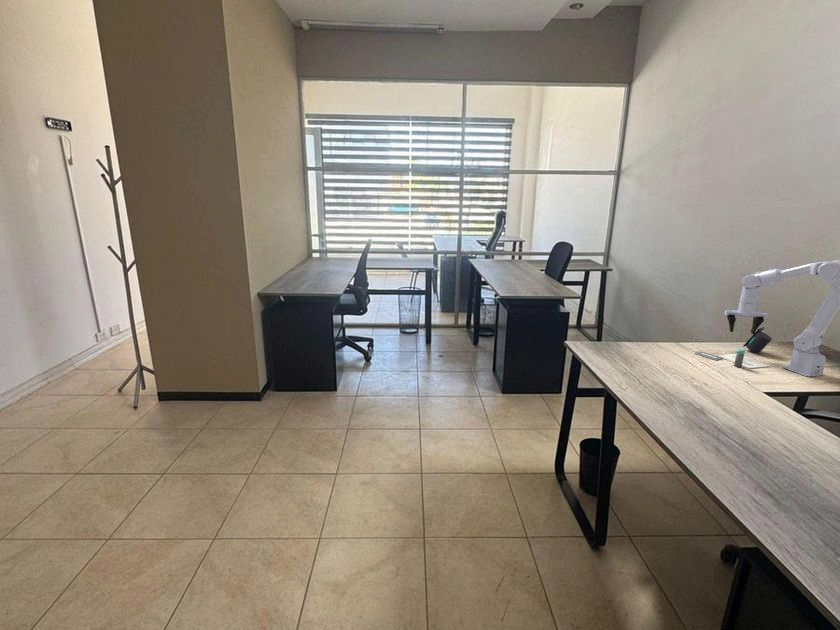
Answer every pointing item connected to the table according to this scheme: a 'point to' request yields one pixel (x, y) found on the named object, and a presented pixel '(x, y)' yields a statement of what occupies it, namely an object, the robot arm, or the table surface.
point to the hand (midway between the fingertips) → (741, 332)
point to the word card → (709, 355)
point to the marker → (739, 358)
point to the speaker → (758, 341)
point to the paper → (745, 361)
